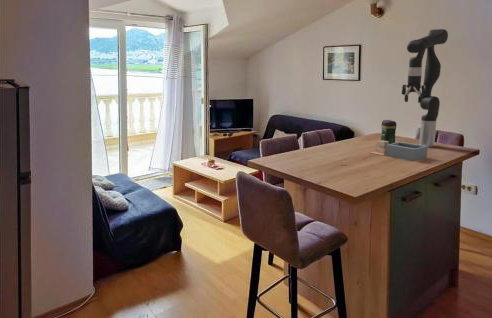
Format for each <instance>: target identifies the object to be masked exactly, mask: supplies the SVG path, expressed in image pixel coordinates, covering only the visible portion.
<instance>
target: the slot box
mask: <svg viewBox="0 0 492 318" xmlns="http://www.w3.org/2000/svg"><path fill="white" fill-rule="evenodd" d="M428 149H429V147H428V146H424V145H419V143H418V144H417V143H411V142H406V141H405V142H404V141H397V142H395V143H393V144H388V145H387V155H386V157H390V158H395V159H400V160H404V161H405V160H407V161H411V162H416V161H420V160H423V159H427V157H428Z"/></svg>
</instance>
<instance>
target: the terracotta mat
mask: <svg viewBox="0 0 492 318" xmlns="http://www.w3.org/2000/svg"><path fill="white" fill-rule="evenodd" d="M369 153H370V154H372V155H376V156H382V157H383V156H387V153H384V154H383V153H377V152H376V151H370V152H369Z"/></svg>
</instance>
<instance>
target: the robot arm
mask: <svg viewBox="0 0 492 318" xmlns="http://www.w3.org/2000/svg"><path fill="white" fill-rule="evenodd" d="M448 39H449V33H448V31H447V29H444V28H441V29H440V28H439V29H430V30H428V33H427V36H423V37H421V38H418V39H413V40H410V41H409V42H408V44H407V45H406V50H407V52H408V53H411V54H416V56H412V57H410V58H409V60H408V61H409V63H408V72H407V84H403V85H402V88H401V95H403V96H404V102H405V103H408V102H409V95H410V93H416V94H417V96H418V98H417V103H418V104H419V106H420V108H421V109H422V110H425V111H427V113H426V114H424V115H422V116H421V122H420V131H419V132H420V133H419V143H418V145H424V146H428V148H430V147H431V148H432V147H435V142H436V140H435V139H436V131H437V130H436V128H437V119H438V117H439V111H440V104H441V102H440V98H439V97H438V96H434V95H433V96H432V90H433V87H434V86H435V84H436V83H437V81H438V80H439V78H440V75H441V68H442V65H441V62H440V59H439V58H438V57H437V55H436V51H435V46H437V45H444V44H445V43H446V42H447V40H448ZM425 52H426V59H425V68H424V78H423V85H422V83H421V82H422V74H423V70H422V67H423V66H422V65H423V59H424V55H425Z"/></svg>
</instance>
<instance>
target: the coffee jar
mask: <svg viewBox="0 0 492 318" xmlns="http://www.w3.org/2000/svg"><path fill="white" fill-rule="evenodd" d="M396 129H397V122H396V121H394V120H391V119H384V120H382V121H381V134H380V141H381V140H383V141H389V144H393V143H396V131H397V130H396Z"/></svg>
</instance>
